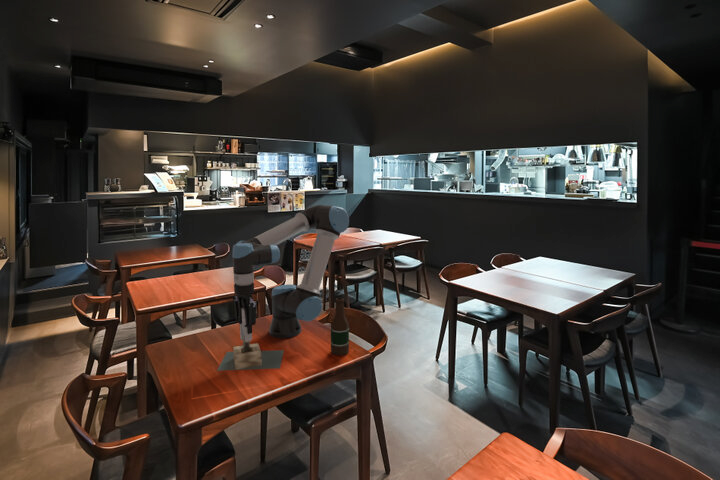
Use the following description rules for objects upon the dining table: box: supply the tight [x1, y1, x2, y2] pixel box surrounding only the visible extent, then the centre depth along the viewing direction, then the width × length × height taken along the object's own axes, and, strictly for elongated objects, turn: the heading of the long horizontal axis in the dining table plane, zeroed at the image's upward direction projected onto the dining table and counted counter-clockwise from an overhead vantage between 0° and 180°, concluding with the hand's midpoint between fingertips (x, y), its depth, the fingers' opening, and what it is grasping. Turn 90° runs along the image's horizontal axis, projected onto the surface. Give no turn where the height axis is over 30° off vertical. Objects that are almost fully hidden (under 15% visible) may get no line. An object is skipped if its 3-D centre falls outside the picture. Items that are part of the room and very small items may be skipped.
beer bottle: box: [330, 297, 350, 357], centre depth 167 cm, size 8×8×24 cm
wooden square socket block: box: [232, 343, 262, 371], centre depth 159 cm, size 10×10×5 cm
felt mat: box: [216, 349, 285, 372], centre depth 161 cm, size 24×16×1 cm, turn 95°
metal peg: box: [241, 307, 251, 352], centre depth 157 cm, size 3×3×18 cm
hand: (246, 339), depth 157 cm, fingers closed on metal peg, 2 cm apart
